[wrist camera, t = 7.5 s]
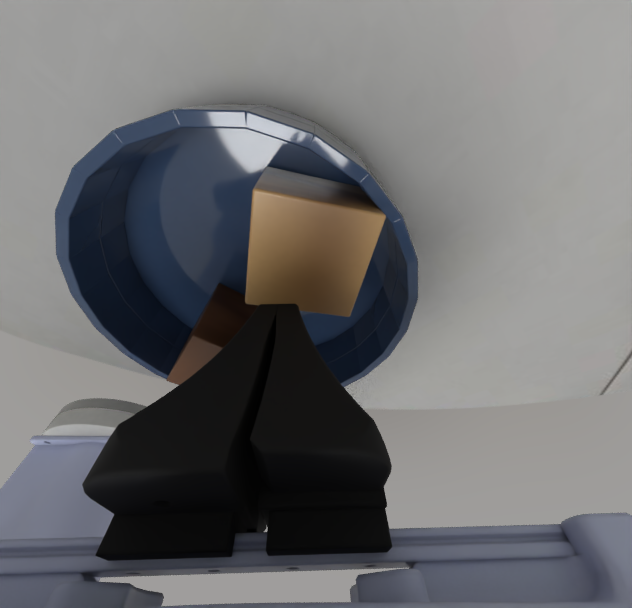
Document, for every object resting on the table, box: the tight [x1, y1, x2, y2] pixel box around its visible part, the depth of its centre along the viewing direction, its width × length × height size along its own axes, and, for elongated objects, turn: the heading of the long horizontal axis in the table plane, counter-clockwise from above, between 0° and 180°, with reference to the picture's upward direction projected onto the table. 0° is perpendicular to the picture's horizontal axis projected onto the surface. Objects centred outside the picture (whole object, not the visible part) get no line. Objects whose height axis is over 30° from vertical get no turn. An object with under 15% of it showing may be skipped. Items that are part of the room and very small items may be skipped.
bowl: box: [55, 104, 418, 387], centre depth 13 cm, size 14×14×4 cm
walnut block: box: [167, 283, 259, 385], centre depth 14 cm, size 4×4×4 cm
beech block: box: [245, 167, 386, 317], centre depth 10 cm, size 4×4×4 cm
